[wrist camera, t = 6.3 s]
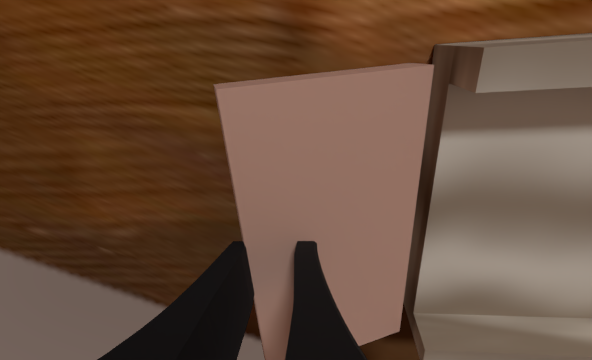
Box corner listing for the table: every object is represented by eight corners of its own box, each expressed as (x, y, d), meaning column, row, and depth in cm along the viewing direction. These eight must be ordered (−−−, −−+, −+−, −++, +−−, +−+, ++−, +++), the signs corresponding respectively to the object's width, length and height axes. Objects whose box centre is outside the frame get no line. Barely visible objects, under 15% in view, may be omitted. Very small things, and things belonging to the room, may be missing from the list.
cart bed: (624, 304, 16) (738, 406, 12) (402, 298, 17) (428, 388, 13) (796, 18, 10) (1174, 2, 6) (434, 44, 11) (504, 48, 7)
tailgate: (399, 331, 15) (269, 379, 13) (378, 301, 17) (261, 341, 15) (434, 64, 9) (216, 89, 8) (397, 62, 11) (212, 81, 9)
